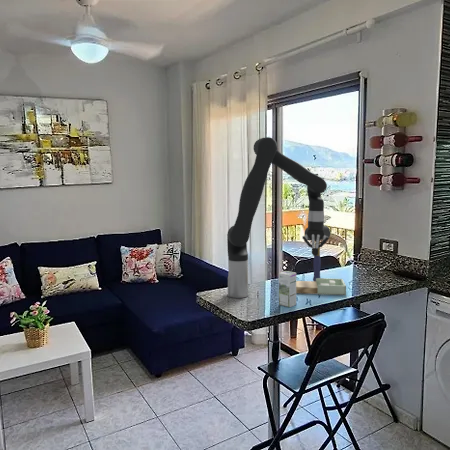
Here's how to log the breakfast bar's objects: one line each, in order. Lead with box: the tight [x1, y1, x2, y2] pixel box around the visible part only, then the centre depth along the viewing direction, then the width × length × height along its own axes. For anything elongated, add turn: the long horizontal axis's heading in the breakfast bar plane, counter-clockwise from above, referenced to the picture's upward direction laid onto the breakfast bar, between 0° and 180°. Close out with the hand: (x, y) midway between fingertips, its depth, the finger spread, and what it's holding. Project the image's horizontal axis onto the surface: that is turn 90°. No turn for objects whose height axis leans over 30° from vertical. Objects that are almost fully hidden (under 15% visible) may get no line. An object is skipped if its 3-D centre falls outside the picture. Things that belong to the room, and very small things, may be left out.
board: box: [296, 280, 318, 295], centre depth 208 cm, size 12×12×3 cm
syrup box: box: [278, 270, 297, 308], centre depth 184 cm, size 6×6×14 cm
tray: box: [316, 277, 347, 296], centre depth 206 cm, size 13×14×4 cm
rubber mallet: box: [304, 225, 331, 281], centre depth 220 cm, size 12×8×30 cm, turn 117°
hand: (314, 255), depth 205 cm, fingers closed
